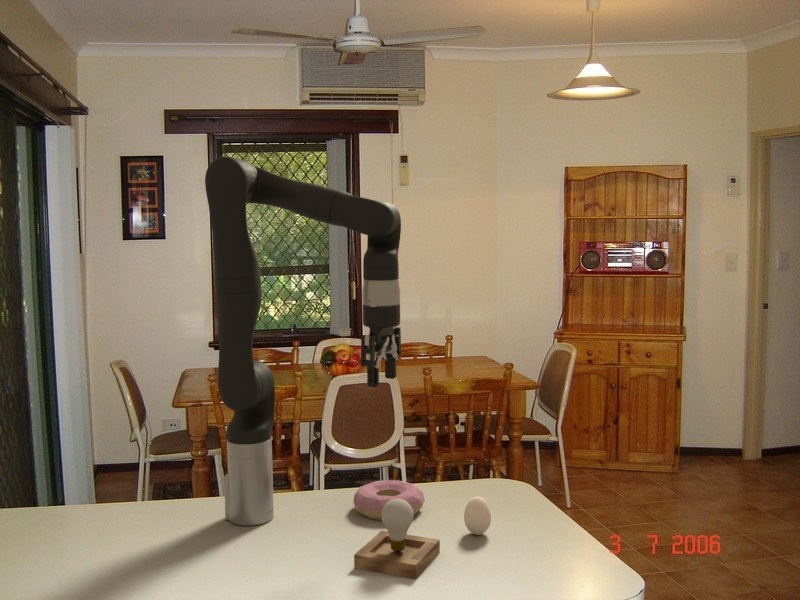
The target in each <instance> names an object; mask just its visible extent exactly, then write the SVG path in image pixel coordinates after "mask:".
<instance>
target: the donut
mask: <svg viewBox="0 0 800 600" xmlns="http://www.w3.org/2000/svg"><path fill="white" fill-rule="evenodd" d="M392 499H403V500H405V501H406V502H408V503H409V504H410V506H411V507H412V509H413V515H415V514H417V513H418V512H419V511H421V509H422V508H423V506H424V502H425V500H426V499H425V496H424V493H423V491H422V490H421V489H420V488H419V487H418V486H416V485H415V484H414V483H411V482H407V481H402V480H390V479H389V480H376V481H373V482H369V483H367V484H363V485H361V486H359V487H358V489H357V490H356V492H355V493H354V494H353V504H354V508H355V510H356V511H357V512H358V513H359V514H360V515H362V516H365V517H367V518H370V519H372V520H378V521H379V520H381V521H382V517H381V514H382V509H383V507H384V506H385V504H386V503H387V502H388V501H390V500H392Z"/></svg>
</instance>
